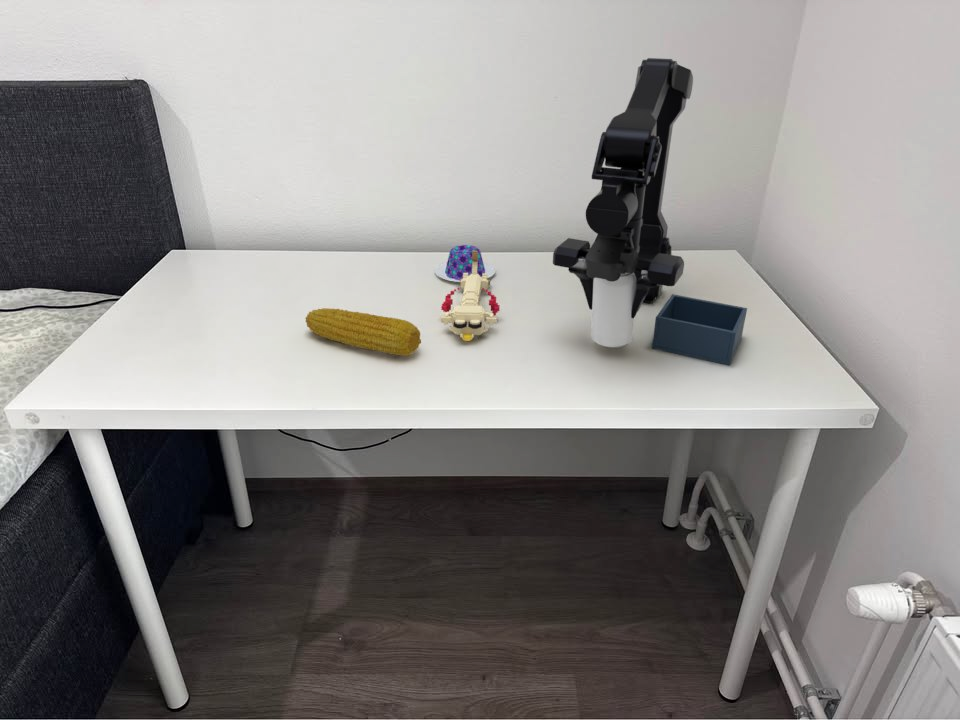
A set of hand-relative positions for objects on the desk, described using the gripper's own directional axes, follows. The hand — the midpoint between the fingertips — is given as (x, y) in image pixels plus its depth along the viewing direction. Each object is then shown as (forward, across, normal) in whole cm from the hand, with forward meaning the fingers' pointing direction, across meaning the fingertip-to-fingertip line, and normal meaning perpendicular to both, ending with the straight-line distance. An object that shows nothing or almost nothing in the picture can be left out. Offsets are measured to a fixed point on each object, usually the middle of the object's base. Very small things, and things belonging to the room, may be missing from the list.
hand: (612, 312), depth 110 cm
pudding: (+7, -36, +18) cm, 41 cm away
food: (+7, -36, -17) cm, 40 cm away
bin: (+7, +12, +9) cm, 16 cm away
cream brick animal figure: (+7, -26, +2) cm, 27 cm away
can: (+5, 0, 0) cm, 5 cm away
